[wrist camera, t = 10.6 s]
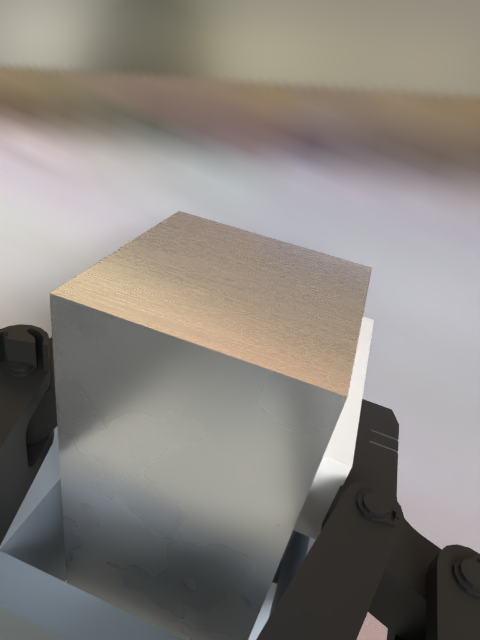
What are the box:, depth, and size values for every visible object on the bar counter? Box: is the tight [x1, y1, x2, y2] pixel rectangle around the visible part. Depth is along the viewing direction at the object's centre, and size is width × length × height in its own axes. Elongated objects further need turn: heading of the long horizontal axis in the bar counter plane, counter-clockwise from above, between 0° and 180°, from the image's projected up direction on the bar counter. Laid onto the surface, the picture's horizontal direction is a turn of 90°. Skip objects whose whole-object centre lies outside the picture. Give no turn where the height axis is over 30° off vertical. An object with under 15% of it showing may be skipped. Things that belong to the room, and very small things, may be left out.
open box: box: [0, 426, 321, 640], centre depth 21 cm, size 10×22×12 cm, turn 169°
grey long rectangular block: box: [50, 211, 372, 640], centre depth 15 cm, size 18×6×6 cm, turn 170°
